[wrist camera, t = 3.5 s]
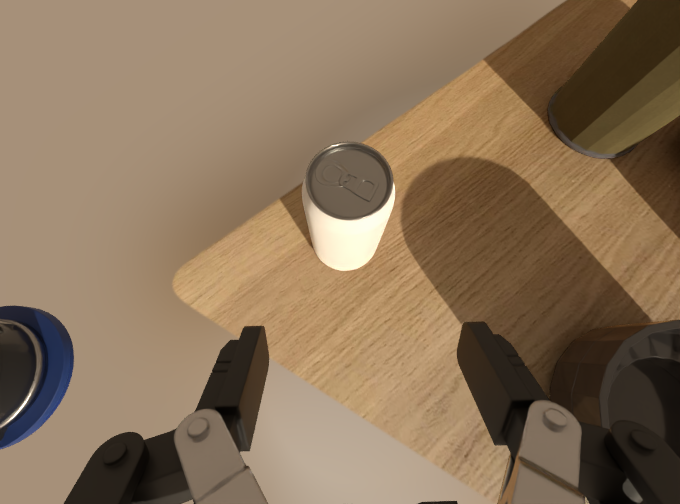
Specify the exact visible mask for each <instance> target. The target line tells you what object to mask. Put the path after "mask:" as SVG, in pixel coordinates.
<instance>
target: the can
mask: <svg viewBox="0 0 680 504" xmlns="http://www.w3.org/2000/svg"><path fill="white" fill-rule="evenodd" d="M394 200H395V186H394V182H393V174H392V170H391V168H390V166H389V164H388V162H387V161H386V159H385V158H384V157H383V156H382V155H381V154H380V153H379V152H378V151H377V150H375V149H373V148H372V147H370V146H368V145H365V144H362V143H357V142H340V143H336V144H333V145H330V146H328V147H326V148H324V149H323V150H321V151H320V152H319V153H318V154H317V155H316V156H315V157H314V158H313V159H312V161H311V162H310V164H309V166H308V169H307V172H306V176H305V178H304V181H303V185H302V201H303V206H304V211H305V215H306V220H307V224H308V228H309V232H310V237H311V241H312V245H313V248H314V251H315V253H316V255H317V256H318V258H319V259H320V260H321V261H322V262H323V263H324V264H326V265H327V266H329V267H331V268H333V269H336V270H342V271H348V270H354V269H357V268H359V267H361V266H363V265H364V264H366V263H367V262H368V261H369V260H370V259H371V258H372V256H373V255H374V253H375V251H376V248H377V246H378V244H379V241H380V239H381V236H382V234H383V231H384V229H385V226H386V224H387V221H388V219H389V216H390V214H391V211H392V208H393V205H394Z"/></svg>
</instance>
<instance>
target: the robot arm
mask: <svg viewBox="0 0 680 504" xmlns="http://www.w3.org/2000/svg"><path fill="white" fill-rule="evenodd" d="M457 359H458V364H459V366H460V369H461V371H462V373H463V375H464V378H465V380H466V382H467V384H468V387H469V389H470V391H471V393H472V395H473V398H474V400H475V402H476V404H477V407H478V409H479V411H480V413H481V416H482V418H483V420H484V422H485V424H486V427H487V429H488V431H489V433H490V436H491V438H492V440H493V442H494V445H507V446H508V448H509V451H510V456H509V459H508V463H507V467H506V471H505V475H504V479H503V483H502V487H501V491H500V495H499V499H498V503H497V504H585V497H586V498H587V499H588V501H589V503H590V504H680V458H679V457H678V456H677V455H676V453H675V452H674V451H673V450H672V449H671V448H670V446H669V445H668V444H667V443H666V442H665V441H664V440H663V439H662V438H661V437H660V436H659V435H657V434H656V433H655V432H653V431H652V430H650V429H649V428H647V427H645V426H643V425H641V424H639V423H636V422H633V421H629V420H619V421H616V422H614V423H613V424H612V426H611V428H610V429H607V428H603V427H599V426H596V425H592V424H588V423H584V422H581V421H578V420H577V419H576V418H575V417H574V415H573V414H572V413H570V412H569V411H568V410H567V409H565V408H564V407H562V406H561V405H559V404H557V403H554V402H551V401H550V400H549V399H548V397H547V396H546V394H545V393H544V391H543V390H542V388H541V387H540V385H539V384H538V383H537V381H536V380H535V378H534V377H533V375H532V374H531V372H530V371H529V369H528V368H527V366H525V364H524V362H523V361H522V359H521V358H520V357H519V356H518V353H517V352H516V350H515V349H514V347H513V346H512V345H511V343H509V342H508V341H507V340H506V339H504V338H503V337H502V336H501V335H499V334H493V333H492V331H491V330H490V328H489V327H488V325H487V324H486V323H485V322H483V321H482V322H464V323H463V325H462V330H461V334H460V339H459V343H458V348H457ZM268 366H269V352H268V346H267V340H266V334H265V328H264V326H245V327H244V328H243V330H242V333H241V336H240V338H239V340H230V341H229V342H228V343H227V344H226V345H225V346H224V347H223V348H222V349H221V351H220V354H219V356H218V358H217V361H216V364H215V365H214V368H213V370H212V373H211V375H210V377H209V380H208V382H207V384H206V387H205V389H204V391H203V394H202V396H201V399H200V401H199V403H198V406H197V408H196V410H195V412H194V413H192V414H190V415H189V416H187V417H186V418H185V419H184V420H183V421H182V422H181V423H180V424H179V426H178V427H177V428H176V429H175V430H173V431H170V432H167V433H164V434H161V435H158V436H155V437H152V438H149V439H146V440H143V438H142V436H141V435H139V434H138V433H135V432H126V433H122V434H119V435H116V436H114V437H112V438H111V439H109V440H107V441H106V442H105V443H104V444H102V445H101V446H100V447H99V448H98V449H97V450H96V451H95V453H94V454H93V455H92V457H91V458H90V460H89V462H88V463H87V465H86V467H85V468H84V470H83V472H82V473H81V475H80V477H79V479H78V480H77V482H76V484H75V485H74V487H73V489H72V491H71V492H70V494H69V496H68V497H67V499H66V501H65V502H64V504H182V503H184V502H187V501H189V500H192V499H193V502H194V504H268V502H267V500H266V498H265V497H264V495H263V493H262V491H261V489H260V487H259V485H258V483H257V481H256V479H255V477H254V475H253V473H252V471H251V469H250V468H249V466H246V464H245V463H244V461H243V459H242V457H241V455H240V451H250V446H251V443H252V438H253V434H254V430H255V425H256V421H257V416H258V412H259V407H260V403H261V398H262V394H263V390H264V385H265V381H266V376H267V372H268ZM47 371H48V352H47V348H46V345H45V342H44V340H43V338H42V337H41V335H40V334H39V333H38V332H37V331H36V330H35V329H34V328H33V327H31V326H30V325H28V324H26V323H23V322H20V321H15V320H5V319H0V441H1V440H2V439H3V437H4V434H5V432H6V430H7V428H8V427H9V426H10V425H12V424H13V423H15V422H16V421H17V420H18V419H20V418H21V417H22V416H23V415H24V414H25V413H26V412H27V411H28V409H29V408H30V407H31V406H32V404H33V403H34V402H35V400H36V399H37V397H38V395H39V394H40V392H41V390H42V387H43V385H44V382H45V379H46V376H47ZM584 496H585V497H584ZM418 504H457V501H440V502H421V503H418Z"/></svg>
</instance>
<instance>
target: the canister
mask: <svg viewBox="0 0 680 504" xmlns="http://www.w3.org/2000/svg"><path fill="white" fill-rule="evenodd" d="M548 115H549V121H550V124H551V126H552V128H553V129H554V131H555V133H556V134H557V136H558V137H559V138H560V139H561V140H562V141H563V142H564V143H565V144H567V145H568V146H569V147H570V148H571V149H573V150H575V151H577V152H579V153H582V154H585V155H587V156H590V157H594V158H601V159H605V158H615V157H619V156H623V155H625V154H627V153H628V152H630V151H632V150H633V149H634V148H635V147H636V146H637V145H638V143H640V142H641V141H643V140H644V139H646V138H647V137H649V136H650V135H651V134H653V133H654V132H656V131H657V130H659V129H660V128H662V127H663V126H665V125H666V124H668V123H669V122H671V121H672V120H674V119H675V118H677V117H678V116H680V0H638V1H637V2H636V3H635V4H634V5H633V6H632V8H631V9H630V10H629V11H628V12H627V13H626V14H625V16H624V17H623V18H622V19H621V20H620V21H619V22H618V24H617V25H616V26H615V27H614V28H613V29H612V31H611V32H610V33H609V34H608V35H607V36H606V37H605V39H604V40H603V41H602V42H601V43H600V44H599V46H598V47H597V48H596V49H595V50H594V51H593V52H592V54H591V55H590V56H589V57H588V58H587V59H586V61H585V62H584V63H583V64H582V65H581V66H580V67H579V69H578V70H577V71H576V72H575V73H574V74H573V76H572V77H571V78H570V79H569V80H568V81H567V82H566V84H565V85H564V86H563V87H561V88H559V89H558V90H557V91H556V92H555V94H554V95H553V97H552V98H551V100H550V102H549V107H548Z"/></svg>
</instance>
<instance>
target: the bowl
mask: <svg viewBox="0 0 680 504" xmlns="http://www.w3.org/2000/svg"><path fill="white" fill-rule="evenodd" d="M550 401H551V402H554V403H557V404H559V405H561V406H562V407H564V408H565V409H567V410H568V411H569V412H570V413H572V414H573V415H574V417H575V418H576V419H577V420H578V421H581V422H584V423H588V424H592V425H596V426H599V427H603V428H607V429H610V428H611V426H612V424H613V423H614V422H616V421H619V420H629V421H633V422H636V423H639V424H641V425H643V426H645V427H647V428H649V429H650V430H652V431H653V432H655V433H656V434H657V435H659V436H660V437H661V438H662V439H663V440H664V441H665V442H666V443H667V444H668V445H669V446H670V448H671V449H672V450H673V451H674V452H675V453H676V455H677V456H678V457H679V458H680V320H670V321H658V322H646V323H634V324H622V325H614V326H608V327H603V328H597V329H593V330H591V331H589V332H588V333H586V334H584V335H583V336H581V337H579V338H578V339H576V340H575V341H573V342H572V343H571V344H570V346H569V347H568V348H567V350H566V351H565V352H564V354H563V355H562V356H561V358H560V359H559V360H558V362H557V364H556V368H555V372H554V375H553V379H552V382H551V386H550Z"/></svg>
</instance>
